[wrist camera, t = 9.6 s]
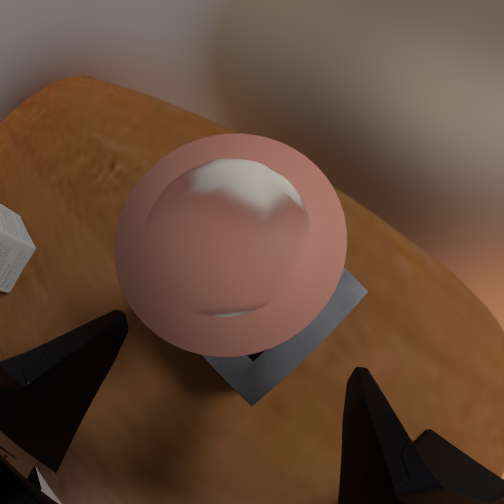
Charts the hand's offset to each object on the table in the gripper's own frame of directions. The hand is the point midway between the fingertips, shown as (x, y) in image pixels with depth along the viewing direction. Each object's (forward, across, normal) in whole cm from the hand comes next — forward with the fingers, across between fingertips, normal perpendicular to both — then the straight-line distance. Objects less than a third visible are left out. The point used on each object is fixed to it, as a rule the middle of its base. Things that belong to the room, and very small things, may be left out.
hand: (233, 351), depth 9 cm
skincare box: (+6, +25, +5) cm, 26 cm away
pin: (+7, 0, +4) cm, 8 cm away
